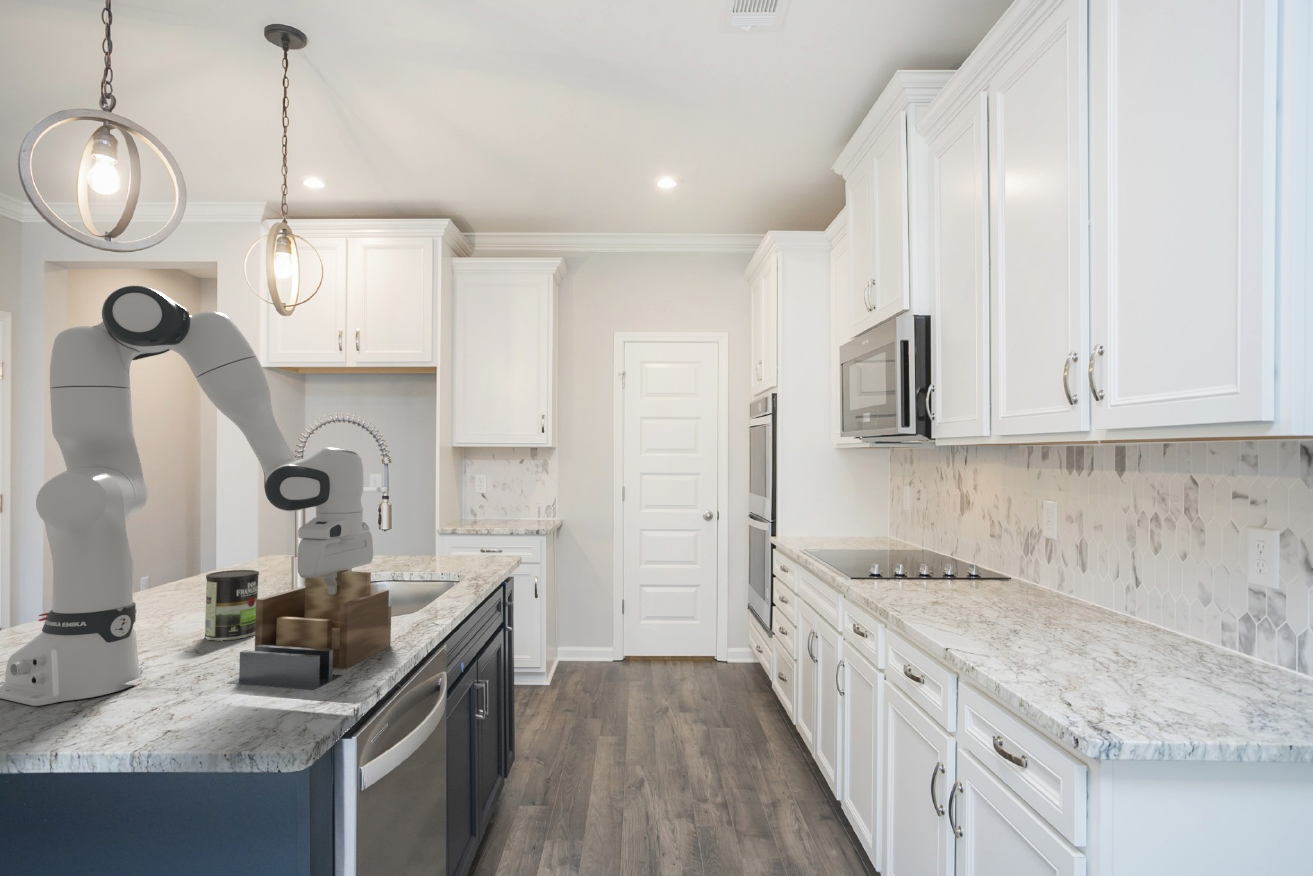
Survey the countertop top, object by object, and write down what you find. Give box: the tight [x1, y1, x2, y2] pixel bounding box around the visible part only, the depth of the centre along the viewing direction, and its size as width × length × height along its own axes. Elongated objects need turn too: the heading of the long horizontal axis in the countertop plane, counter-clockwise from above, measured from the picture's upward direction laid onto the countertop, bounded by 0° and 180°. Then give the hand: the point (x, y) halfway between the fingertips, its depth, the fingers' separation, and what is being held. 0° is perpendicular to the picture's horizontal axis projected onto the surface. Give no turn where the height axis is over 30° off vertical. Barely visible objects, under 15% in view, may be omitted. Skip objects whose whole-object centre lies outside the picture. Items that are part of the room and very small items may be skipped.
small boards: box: [276, 617, 340, 649], centre depth 134 cm, size 14×4×8 cm, turn 80°
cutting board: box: [304, 571, 372, 621], centre depth 140 cm, size 14×1×16 cm, turn 81°
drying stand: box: [227, 645, 344, 691], centre depth 121 cm, size 17×8×6 cm, turn 80°
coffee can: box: [204, 569, 260, 642], centre depth 155 cm, size 10×10×14 cm
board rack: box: [254, 585, 392, 670], centre depth 137 cm, size 20×16×14 cm
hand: (337, 592), depth 140 cm, fingers closed on cutting board, 1 cm apart
